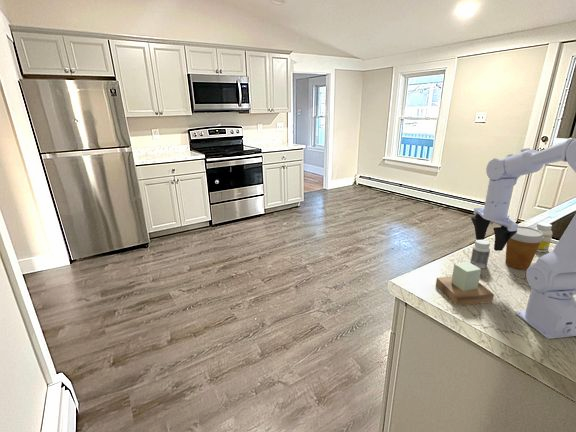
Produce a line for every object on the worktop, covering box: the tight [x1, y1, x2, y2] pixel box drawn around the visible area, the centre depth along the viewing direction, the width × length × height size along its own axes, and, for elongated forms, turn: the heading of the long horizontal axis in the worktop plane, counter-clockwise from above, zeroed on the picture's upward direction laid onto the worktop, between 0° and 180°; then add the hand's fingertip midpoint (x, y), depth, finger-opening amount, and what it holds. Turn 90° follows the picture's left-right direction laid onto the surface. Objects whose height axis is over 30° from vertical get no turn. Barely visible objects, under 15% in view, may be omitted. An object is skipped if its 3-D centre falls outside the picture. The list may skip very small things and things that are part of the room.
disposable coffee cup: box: [505, 225, 544, 270], centre depth 97 cm, size 10×10×12 cm
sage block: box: [451, 261, 482, 291], centre depth 84 cm, size 4×4×6 cm
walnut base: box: [435, 275, 495, 306], centre depth 85 cm, size 10×10×2 cm
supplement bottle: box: [534, 221, 553, 253], centre depth 107 cm, size 5×5×10 cm
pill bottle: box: [469, 239, 491, 269], centre depth 99 cm, size 5×5×8 cm
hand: (488, 244), depth 91 cm, fingers open, 7 cm apart
